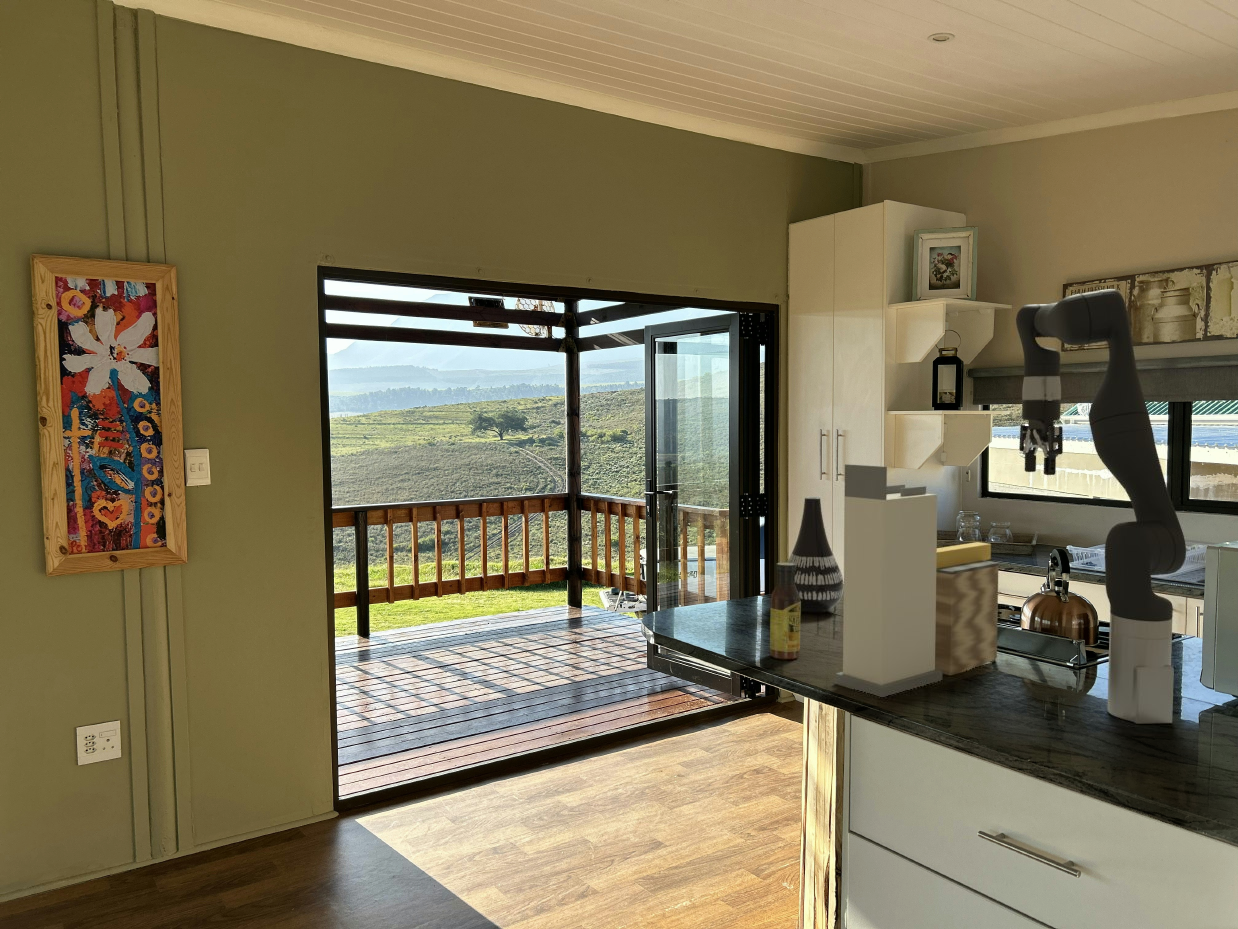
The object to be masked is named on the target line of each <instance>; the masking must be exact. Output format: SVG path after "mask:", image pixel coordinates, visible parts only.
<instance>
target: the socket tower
mask: <svg viewBox="0 0 1238 929" xmlns="http://www.w3.org/2000/svg"><path fill="white" fill-rule="evenodd" d="M887 470H888V468H887V466H882V465H881V466H880V465H867V464H866V465H864V464H849V463H848V464H844V507H843V508H844V509H843V511H844V512H843V513H844V515H843V516H844V518H843V520H844V521H843V523H844V526H843V527H844V528H843V530H844V532H843V584H844V590H843V619H842V620H843V621H842V622H843V627H842V628H843V629H842V630H843V632H842V636H843V638H842V639H843V640H842V642H843V644H842V645H843V646H842V647H843V649H842V651H843V652H842V671H841V672H836V673H835V680H834V681H835V683H834V684H835V685H838V686H842V687H843V688H844V687H845V688H848V689H852V690H854V689H855V690H854V691H857V690H859V691H858V692H860V691H863V692H862V693H864V692H866V693H865V694H867V693H870V694H874V695H877V696H880V697H885V696H888V695H891V694H895V693H899V692H902V691H905V690H909V691H910V689H912V690H914V689H913V688H915V689H918V688H917V687H919V688H921V687H920V686H922V687H924V685H925V686H927V685H926V684H929V685H931V684H930V683H932V684H934V683H933V682H935V683H939V682H941V680H942V681H943V674H942V670H940V669H936V668H935V626H936V558H937V546H938V543H937V542H938V540H937V539H938V538H937V537H938V494H936V493H927V486H925V485H920V486H912V487H910V486H909V487H906V484H892V485H888V484H887V483H888V482H887V481H888V476H887V474H888V471H887ZM938 681H939V682H938ZM905 692H906V691H905ZM902 693H903V692H902ZM870 694H869V695H870ZM899 694H900V693H899ZM895 695H896V694H895ZM877 696H876V697H877ZM880 697H879V698H880ZM885 698H886V697H885Z"/></svg>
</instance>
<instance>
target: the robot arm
mask: <svg viewBox="0 0 1238 929" xmlns="http://www.w3.org/2000/svg"><path fill="white" fill-rule="evenodd" d="M1015 316H1016V317H1015V324H1016V330H1017V332H1018V335H1019V338H1020V342H1021V346H1022V352H1023V359H1024V360H1023V362H1024V366H1023V369H1024V370H1023V382H1022V383H1023V384H1022V392H1021V395H1022V396H1021V397H1022V399H1021V405H1022V406H1021V419H1022V420H1023V421H1028V423H1027V424H1020V428H1019V429H1020V430H1019V431H1020V432H1019V445H1018V447H1019V448H1018V450H1019V452H1022V453H1023V455H1024V471H1025V472H1026V473H1034V472H1036V470H1037V455H1036V454H1037V452H1038V450H1039V449H1041V451H1042V452H1043V456H1044V457H1043V474H1044V475H1045V476H1054V475H1056V472H1057V471H1056V468H1057V465H1056V464H1057V458H1058V456H1059V455H1063V453H1064V450H1063V449H1064V448H1063V447H1064V446H1063V445H1064V444H1063V442H1064V440H1063V437H1064V436H1063V433H1064V432H1063V426H1062V425H1055V424H1054V421H1059V420H1061V408H1062V407H1061V405H1062V404H1061V402H1062V400H1061V398H1062V384H1061V354H1060V351H1059V350H1057V349H1055V348H1049V347H1044V346H1041V345H1040V344H1039V343H1038V342H1037V339H1036V338H1053V339H1055V338H1056V339H1058V340H1059V341H1060V342H1061V343H1063V344H1066V345H1069V346H1084V345H1091V344H1098V343H1103V342H1106V343H1107V347H1108V363H1107V364H1108V365H1107V368H1106V370H1105V374H1104V377H1103V378H1102V380H1101V384H1100V385H1099V388H1098V390H1097V392H1096V394H1095V396H1094V397H1093V401H1092V402H1091V405H1090V409H1089V412H1088V422H1089V427H1090V431H1091V436H1092V440H1093V441H1092V442H1093V445H1094V449H1095V452H1096V454H1097V456H1098V458H1099V459H1100V461H1101V462H1102V464H1103V465H1104V466H1105V467H1106V469H1107V470H1108V471H1109V472H1110V474H1112V476H1113V477H1114V478H1115V479H1116V481H1117V482H1118V483H1119V484H1120V486H1122V487H1121V488H1123V489H1124V491H1125V493H1126V494H1127V497H1128V498H1129V499H1130V503H1131V505H1132V506H1131V507H1132V510H1133V513H1134V516H1135V520H1136V521H1135V520H1132V521H1123V522H1119V523H1117V524H1114V526H1112V527H1111V529H1110V530H1109V531H1108V533H1107V536H1106V539H1105V543H1104V544H1105V545H1104V566H1105V568H1104V570H1105V574H1104V575H1105V576H1104V577H1105V592H1106V596H1107V599H1108V602H1109V612H1110V614H1109V638H1108V641H1109V644H1108V645H1109V647H1108V677H1107V712H1108V713H1109V714H1110V715H1111V716H1113V717H1116V718H1118V719H1119V718H1120V719H1122V720H1125V721H1130V722H1133V723H1135V724H1136V725H1137V724H1172V723H1173V704H1174V703H1173V701H1174V676H1175V675H1174V671H1175V669H1174V667H1173V666H1172V647H1173V646H1172V643H1173V642H1172V641H1173V640H1172V639H1173V616H1174V615H1173V614H1174V611H1173V610H1174V609H1173V608H1174V607H1173V606H1174V605H1173V603H1172V601H1171V600H1169V599H1168V598H1167V597H1166V598H1165V597H1163V596H1161V595H1158V594H1156V593H1155V592H1154V591H1153V587H1152V576H1163V575H1170V574H1171V575H1172V574H1174V573H1176V572H1178V571H1180V569H1181V568H1182V567H1183V565H1184V564H1185V561H1186V558H1187V557H1186V556H1187V546H1186V540H1185V535H1184V532H1183V529H1182V526H1181V524H1180V521H1179V518H1178V515H1177V513H1176V509H1175V507H1174V503H1173V501H1172V499H1171V495H1170V494H1169V491H1168V488H1167V483H1166V480H1165V476H1164V473H1163V470H1162V466H1161V462H1160V459H1159V454H1158V451H1157V446H1156V440H1155V436H1154V432H1153V427H1152V422H1151V419H1150V418H1151V417H1150V415H1149V414H1150V413H1149V411H1148V406H1147V403H1146V400H1145V395H1144V393H1143V388H1142V385H1141V380H1140V376H1139V372H1138V369H1137V368H1138V367H1137V363H1136V358H1135V352H1134V345H1133V340H1132V332H1131V325H1130V318H1129V312H1128V308H1127V305H1126V302H1125V298H1124V297H1123V295H1122V293H1121V292H1120V291H1119V290H1117V289H1115V288H1108V289H1106V288H1105V289H1100V290H1095V291H1088V292H1084V293H1077V294H1072V295H1069V296H1066V297H1063V298H1062V299H1061V300H1060V301H1058V302H1051V303H1047V304H1046V303H1045V304H1044V303H1043V304H1041V303H1039V304H1025V305H1023V306H1021V307H1020V309H1019V310H1018V311H1017V314H1016V315H1015Z"/></svg>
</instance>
